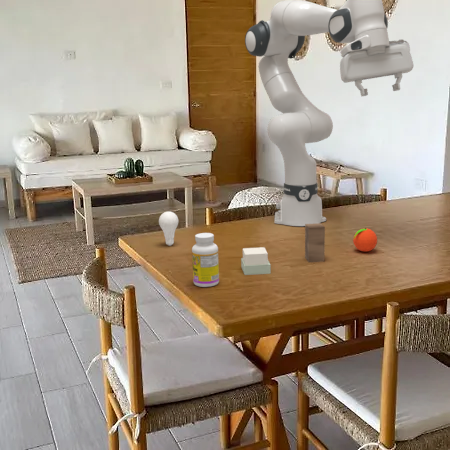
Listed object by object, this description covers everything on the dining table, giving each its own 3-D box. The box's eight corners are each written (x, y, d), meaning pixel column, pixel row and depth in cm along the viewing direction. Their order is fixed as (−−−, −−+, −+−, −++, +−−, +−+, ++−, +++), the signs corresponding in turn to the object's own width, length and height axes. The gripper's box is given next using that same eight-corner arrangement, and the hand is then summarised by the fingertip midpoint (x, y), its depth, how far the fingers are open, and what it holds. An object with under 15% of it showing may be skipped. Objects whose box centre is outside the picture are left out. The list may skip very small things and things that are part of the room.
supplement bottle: (192, 279, 155) (190, 232, 152) (218, 278, 155) (216, 231, 152) (193, 288, 148) (191, 239, 145) (220, 287, 149) (218, 237, 146)
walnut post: (305, 257, 171) (305, 224, 169) (320, 256, 172) (320, 223, 169) (308, 262, 167) (308, 227, 165) (324, 261, 167) (324, 227, 165)
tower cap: (242, 258, 163) (242, 248, 163) (264, 257, 164) (264, 247, 163) (245, 265, 157) (245, 254, 157) (267, 264, 158) (267, 253, 157)
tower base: (241, 268, 165) (241, 258, 164) (266, 267, 165) (266, 256, 164) (244, 276, 158) (244, 265, 157) (270, 275, 158) (270, 264, 158)
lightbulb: (183, 243, 189) (181, 210, 187) (173, 249, 184) (171, 214, 181) (166, 242, 192) (164, 209, 189) (156, 247, 186) (154, 213, 184)
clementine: (362, 256, 171) (362, 232, 169) (345, 251, 176) (345, 228, 175) (381, 251, 175) (382, 228, 173) (364, 246, 180) (365, 224, 179)
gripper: (403, 41, 170) (411, 89, 171) (334, 52, 168) (342, 100, 169) (412, 35, 164) (420, 84, 164) (341, 46, 162) (349, 96, 162)
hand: (380, 93), depth 166 cm, fingers open, 8 cm apart
